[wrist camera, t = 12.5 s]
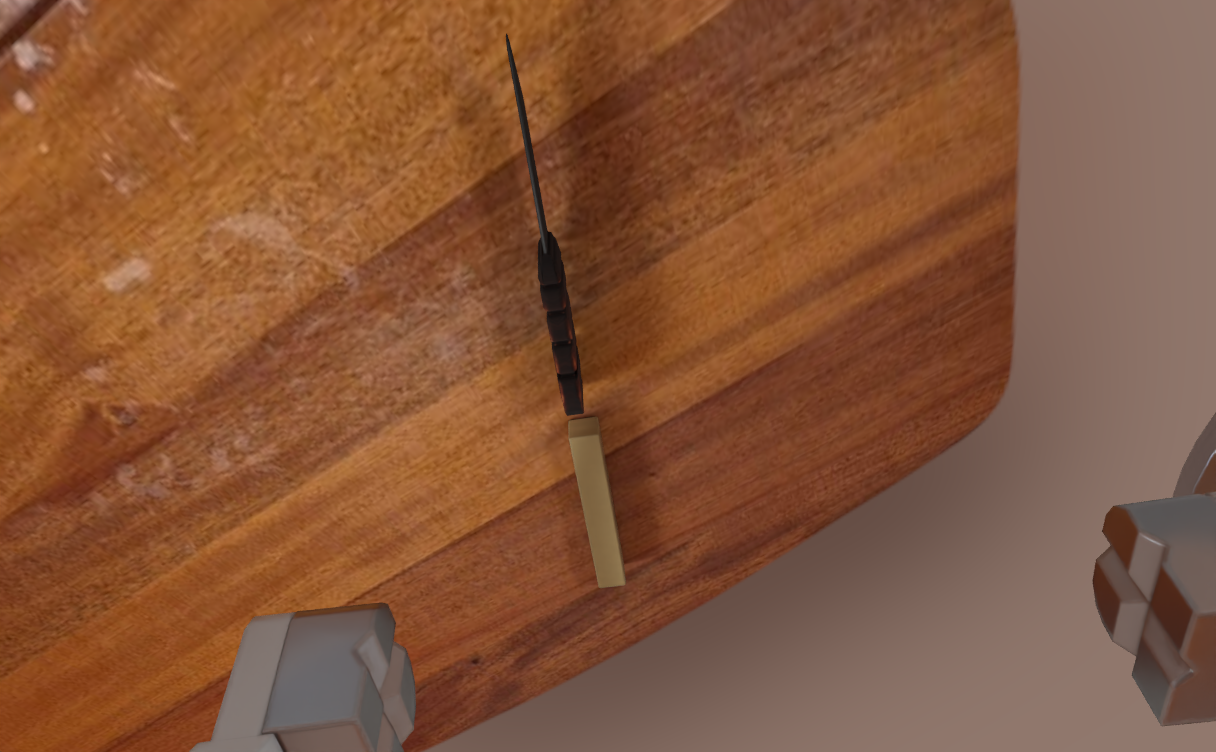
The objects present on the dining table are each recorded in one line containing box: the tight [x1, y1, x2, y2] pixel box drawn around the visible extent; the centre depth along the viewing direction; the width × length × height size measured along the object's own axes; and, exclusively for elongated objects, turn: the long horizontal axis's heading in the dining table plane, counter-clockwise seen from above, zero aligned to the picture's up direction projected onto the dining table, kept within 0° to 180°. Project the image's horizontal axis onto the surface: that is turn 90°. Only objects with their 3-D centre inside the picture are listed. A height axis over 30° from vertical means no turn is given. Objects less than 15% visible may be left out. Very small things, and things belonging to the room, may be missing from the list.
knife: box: [506, 34, 584, 416], centre depth 40 cm, size 17×1×3 cm, turn 7°
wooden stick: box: [568, 417, 626, 588], centre depth 49 cm, size 1×10×1 cm, turn 8°
